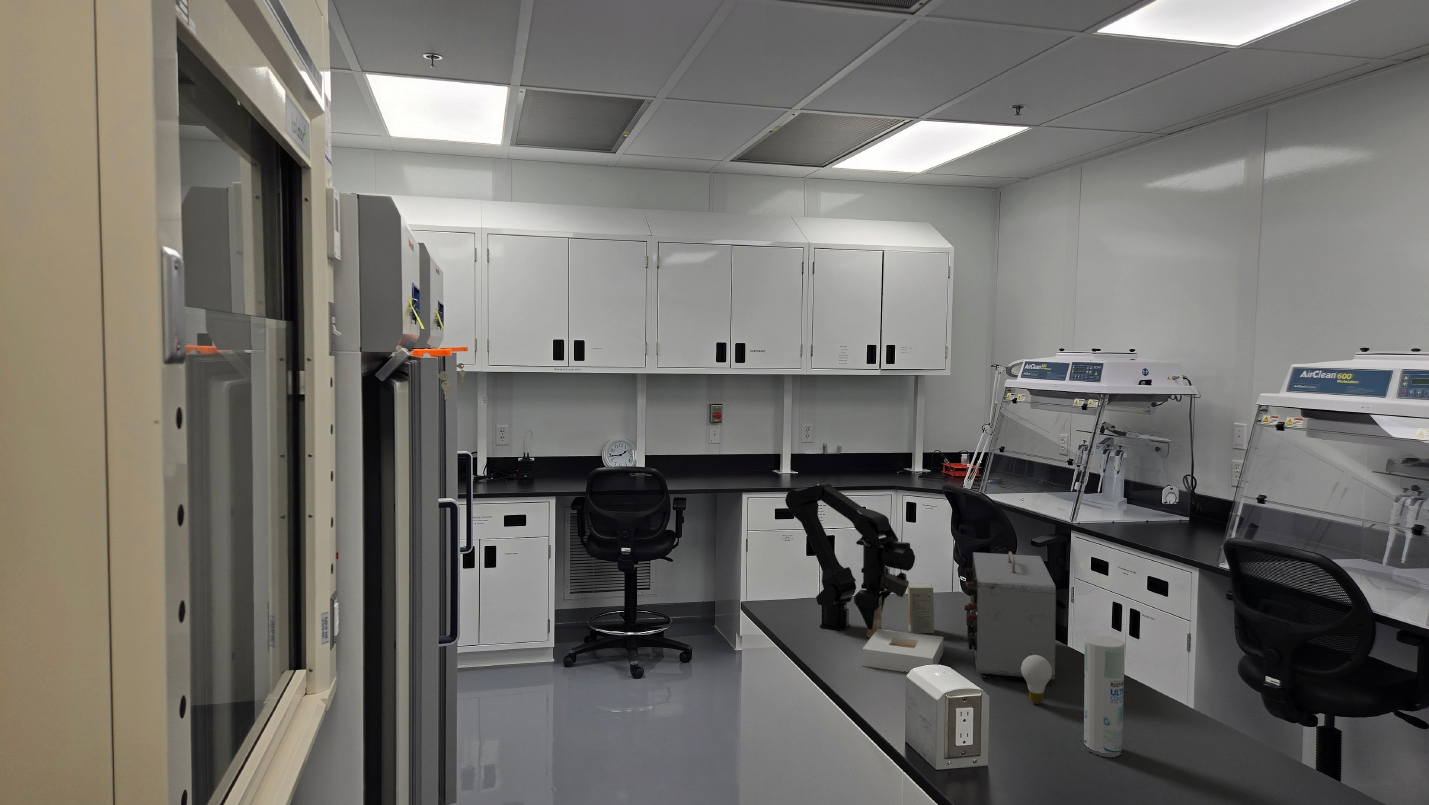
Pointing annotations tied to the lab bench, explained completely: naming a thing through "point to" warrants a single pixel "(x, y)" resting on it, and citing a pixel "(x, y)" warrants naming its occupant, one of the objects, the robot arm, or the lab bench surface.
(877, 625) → the wooden peg
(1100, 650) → the spray can
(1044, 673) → the light bulb
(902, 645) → the plunger plate
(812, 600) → the lab bench surface
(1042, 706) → the lab bench surface
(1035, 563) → the vintage electronic device
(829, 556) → the robot arm
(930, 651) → the socket block
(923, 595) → the skincare box
